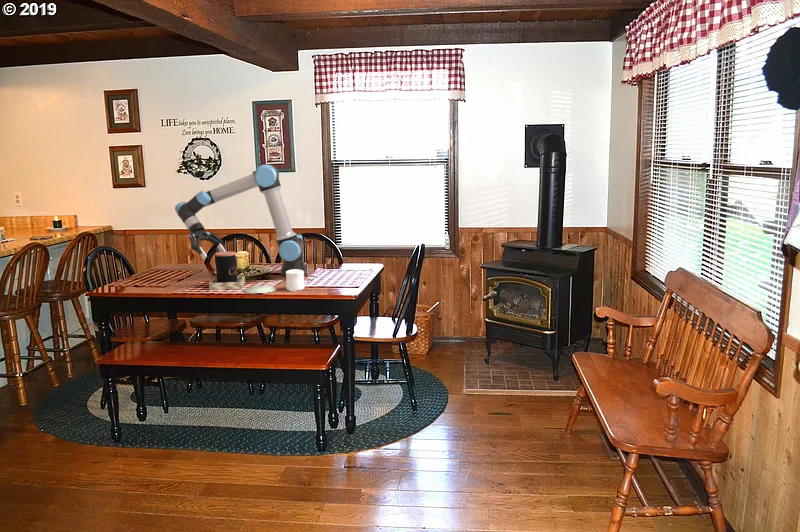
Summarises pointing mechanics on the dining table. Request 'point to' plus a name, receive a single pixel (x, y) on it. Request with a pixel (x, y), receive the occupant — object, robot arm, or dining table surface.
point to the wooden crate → (227, 284)
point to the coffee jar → (226, 267)
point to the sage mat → (260, 289)
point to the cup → (294, 280)
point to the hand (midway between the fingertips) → (215, 256)
